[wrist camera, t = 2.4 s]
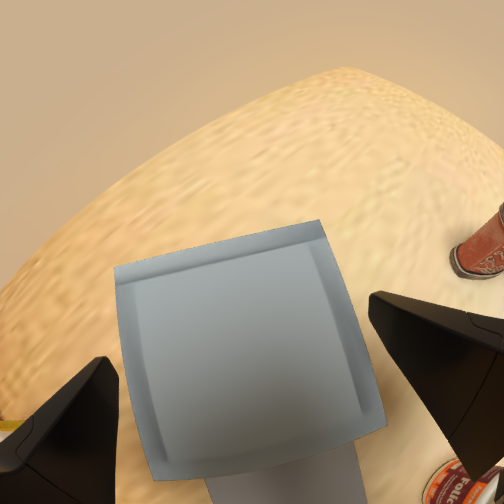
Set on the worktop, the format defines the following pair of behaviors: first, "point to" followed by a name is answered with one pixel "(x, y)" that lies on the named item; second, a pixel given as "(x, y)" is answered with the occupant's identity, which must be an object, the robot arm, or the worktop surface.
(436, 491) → the pill bottle
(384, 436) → the worktop surface
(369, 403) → the cover
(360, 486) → the coaster
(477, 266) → the lighter
